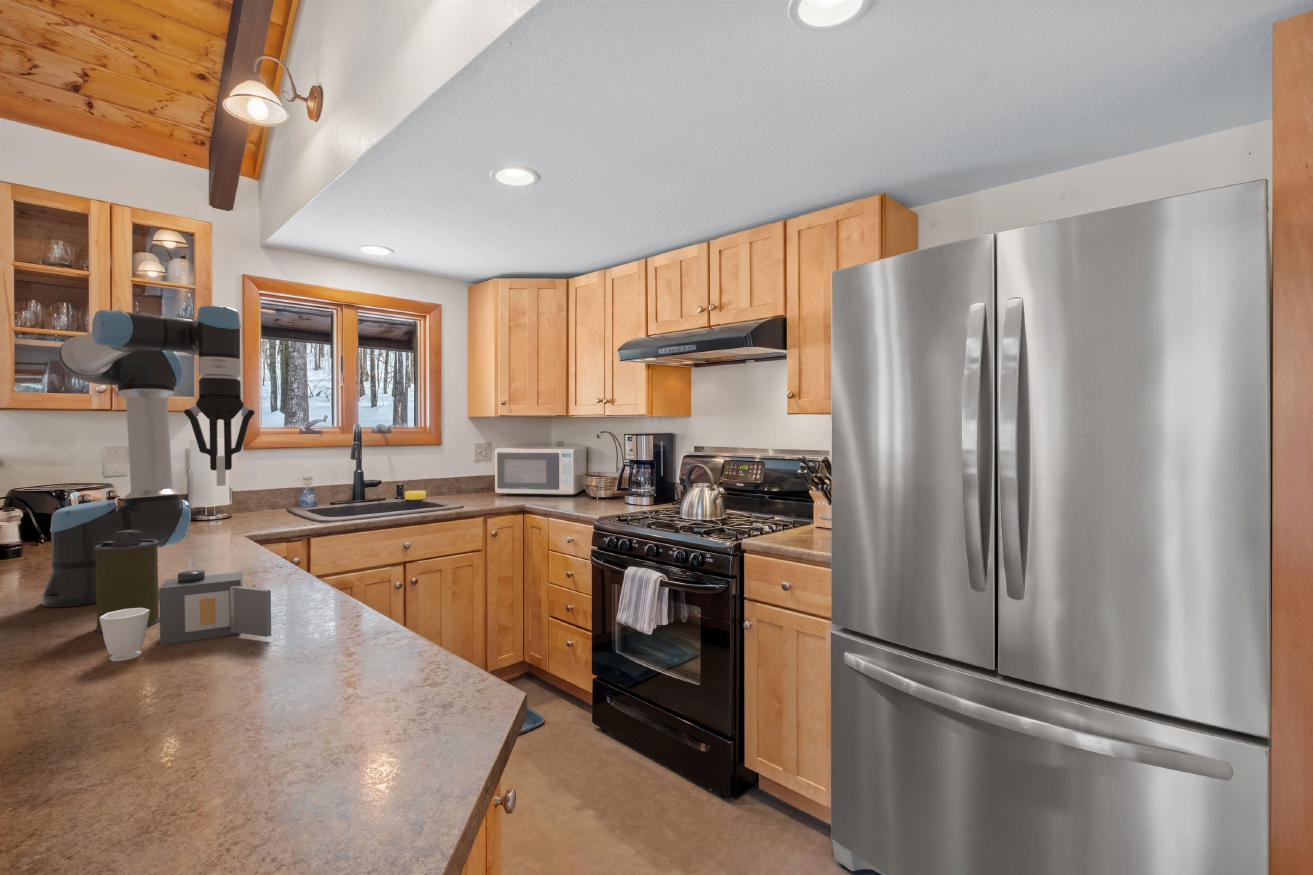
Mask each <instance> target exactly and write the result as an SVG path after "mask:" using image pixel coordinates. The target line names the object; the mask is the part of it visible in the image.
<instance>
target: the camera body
mask: <svg viewBox="0 0 1313 875" xmlns="http://www.w3.org/2000/svg"><path fill="white" fill-rule="evenodd" d="M243 578H244V577H243V571H238V572H229V573H220V574H209V575H206V571H205V570H203V569H194V570H187V571H182V572H179V573H177V578H170V579H165V580H164V581H163V583H162V584H161V586H160V587H158V603H159V617H160V621H159V642H160V643H159V645H160V646H164V645H172V644H177V643H178V644H179V643H185V642H192V641H199V640H205V639H206V640H207V639H213V638H219V637H226V636H227V637H229V636H232V635H233V636H234V635H240V634H241V635H242V633H236V632H231V618H230V587H231V586H241V587H244V582H243V581H244V580H243Z"/></svg>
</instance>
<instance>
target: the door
mask: <svg viewBox="0 0 1313 875" xmlns="http://www.w3.org/2000/svg"><path fill="white" fill-rule="evenodd" d="M271 594H272V590H271V589H268V588H267V589H266V588H259V587H258V588H257V587H256V588H255V587H248V586H243V587H241V586H231V587H230V618H231V632H236V633H241V634H244V635H251V636H258V637H266V638H267V637H270V636H272V599H271V598H272V596H271Z"/></svg>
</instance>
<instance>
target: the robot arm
mask: <svg viewBox="0 0 1313 875" xmlns="http://www.w3.org/2000/svg"><path fill="white" fill-rule="evenodd" d="M91 322H92V323H91V324H92V325H91V331H90V332H88V333H86V334H83V335H82V334H80V335H75V336H73V337H70V338H69V339H66V341H64V342H63V343H62V344H61V346H59V349H58V355H57V356H58V361H59V364H60V365H61V367H62V369H64V370H65V371H66V372H67V373H69V374H70V375H72V376H73V377H74V378H76V379H79V380H81V381H84V382H88V383H92V384H95V385H102V386H103V385H106V386H117V394H118V395H120V396H121V397H122V398H123V399H125V404H126V405H125V406H126V408H125V409H126V424H127V426H126V427H127V441H128V442H127V443H128V444H127V445H128V447H127V448H128V460H129V461H128V462H129V463H128V464H129V479H130V480H129V481H130V483H129V484H130V491H129V493H127V494H126V495H124V497H123V504H121V505H117V503H116V502H115V500H100V501H91V502H86V503H79V504H74V505H70V506H69V505H68V506H65V507H62V508H59V509H57V510H56V511H54V512H53V513H52V514H51V521H50V529H49V531H50V539H51V540H50V541H51V542H50V543H51V573H50V575H49V577H48V580H47V583H46V585H45V587H44V590H43V593H42V595H41V596H42V597H41V600H42V601H41V602H42V603H41V604H42V606H43V607H46V608H69V607H71V608H72V607H77V606H85V605H86V606H87V605H92V604H97V594H96V550H95V549H94V547H95V546H96V545H98V544H99V543H101V542H106V541H113V538H114V533H115V532H119V531H125V530H140V531H142V534H141V539H155V540H158V541H159V542H158V544H157V548H159V547H160V548H163V547H165V546H173V545H176V544H180V543H181V542H182V541H183V540H184V539H185V538H186V536H187V534H188V533H189V529H190V526H191V517H192V516H191V515H192V512H191V511H192V510H191V508H190V506H191V505H190V504H189V501H187V500H186V499H185V500H184V499H181V493H180V492H179V491H178V490H176V489H175V488H174V487H173V472H172V470H173V467H172V454H171V452H172V451H171V438H170V436H171V435H170V420H169V418H170V416H169V402H168V401H169V400H168V399H169V398H170V397H172V396H173V395H174V394H175V389H177V388H179V387H180V386H181V384H182V383H183V374H184V373H183V367H182V366H183V365H182V362H181V358H180V356H179V354H178V353H185V354H187V355H193V356H198V375H199V376H200V377H201V378H199V379H198V399H197V400H196V402H195V405H193V406H192V407H190V408H186V409H185V410H183V413H184V415H185V416H186V417H187V419H189V421H190V424H191V427H192V430H193V434H194V437H195V440H196V443H197V444H196V445H197V448H198V450H199V452H200V453H201V454H206V455H208V456H209V462H210V463H209V465H210V466H209V467H210V471H216V486H217V487H220V486H227V471H230V470H232V468H233V463H232V462H233V457H232V456H233V455H234V454H237V453H240V452H241V451H242V449H243V445H244V443H245V439H246V434H247V431H248V428H249V423H250V420H251V419H252V417H254V415H255V413H256V412H255V410H254V409H253V410H252V409H250V408H248V407H246V406H245V405H244V402H243V400H242V394H241V393H242V391H241V386H242V384H241V380H240V379H238V378H240V377H241V326H242V325H241V321H240V313H239V312H238V311H237V309H235V308H232V307H227V306H220V305H202V306H200V307H199V308H198V310H197V317H196V319H190V318H189V319H188V318H181V317H180V318H179V317H172V316H171V317H169V316H161V315H152V314H146V313H136V312H131V311H130V312H129V311H123V310H120V309H118V310H116V309H115V310H109V309H99V310H98V311H96V312H95V313H94V317H93V318H92V321H91ZM199 411H200V412H201V413H202V414H203V415H204V416H205V417H206V418H207V420H209V421H208V422H209V447H208V446H207V444H206V443H207V442H206V440H205V437H204V434H203V431H202V427H201V424H200V421H199V418H198V416H199V415H200V413H199ZM240 411H241V416H242V417H243V418H242V420H241V424H240V427H239V431H238V433H237V434H238V435H237V438H236V442H235V445H234V447H233V445H232V444H233V443H232V441H233V440H232V439H233V438H232V435H233V434H232V420H233V419H234V418H235V417H236V416H237V414H238V413H239V412H240ZM220 420H222V421H223V436H224V437H223V442H224V443H223V446H224V447H223V448H224V449H223V451H224V453H223V454H224V455H221V454H220V455H218V454H219V452H218V450H219V449H218V446H219V445H218V421H220Z"/></svg>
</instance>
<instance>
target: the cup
mask: <svg viewBox="0 0 1313 875" xmlns="http://www.w3.org/2000/svg"><path fill="white" fill-rule="evenodd" d="M149 611H150V610H149V609H145V608H131V609H122V610H118V611H113V612H109V613H106V614H105V615H103V616H101V617H99V619H100V623H101V627H102V631H103V632H102V635H103V641H104V644H105V647H106V649H107V651H108V654H109V655H112V656H110V657H109V660H110V661H113V662H122V661H127V660H128V661H129V660H132V659H135V658H138V657H139V656H141V655H142V651H140V649H142V648H143V646H144V645H143V644H144V641H145V638H146V634H147V629H148V626H147V623H148V617H149Z"/></svg>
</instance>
